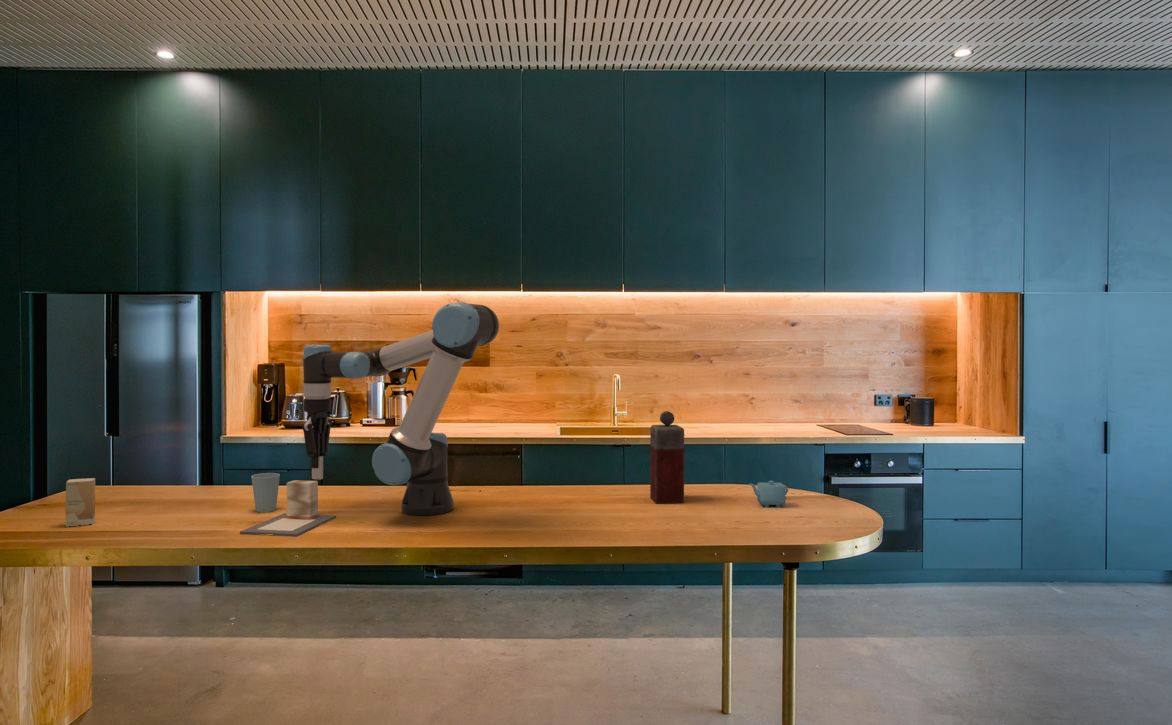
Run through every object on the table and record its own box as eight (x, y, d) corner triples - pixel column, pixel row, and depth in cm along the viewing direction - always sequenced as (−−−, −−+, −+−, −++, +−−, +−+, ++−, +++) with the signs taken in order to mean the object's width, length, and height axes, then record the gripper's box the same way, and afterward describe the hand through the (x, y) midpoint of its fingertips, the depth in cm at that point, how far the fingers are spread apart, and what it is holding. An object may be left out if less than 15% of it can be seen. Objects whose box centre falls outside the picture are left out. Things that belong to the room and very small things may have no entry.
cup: (280, 511, 209) (279, 476, 209) (251, 514, 206) (251, 478, 206) (280, 506, 216) (279, 472, 216) (252, 508, 213) (251, 474, 213)
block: (317, 516, 201) (317, 481, 201) (310, 519, 197) (310, 483, 197) (294, 515, 202) (294, 480, 202) (286, 518, 198) (286, 482, 198)
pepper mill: (676, 495, 231) (676, 409, 231) (684, 503, 220) (684, 412, 219) (648, 496, 230) (648, 409, 230) (655, 503, 219) (655, 412, 219)
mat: (336, 517, 202) (336, 515, 202) (296, 536, 183) (296, 533, 183) (284, 515, 205) (284, 513, 205) (239, 533, 185) (239, 531, 185)
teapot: (750, 507, 215) (750, 482, 214) (746, 503, 221) (746, 478, 220) (790, 508, 214) (790, 483, 214) (785, 503, 220) (785, 479, 220)
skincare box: (65, 527, 191) (64, 482, 191) (68, 523, 195) (67, 479, 195) (94, 524, 194) (93, 480, 194) (96, 521, 198) (95, 477, 198)
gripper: (317, 395, 214) (317, 474, 215) (292, 399, 201) (292, 482, 202) (340, 396, 213) (340, 475, 214) (317, 399, 200) (317, 483, 201)
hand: (317, 478), depth 208 cm, fingers closed
